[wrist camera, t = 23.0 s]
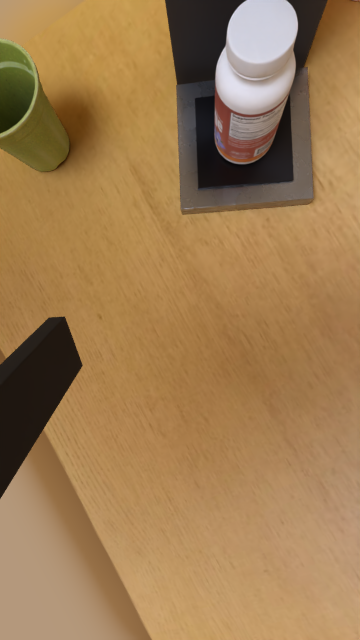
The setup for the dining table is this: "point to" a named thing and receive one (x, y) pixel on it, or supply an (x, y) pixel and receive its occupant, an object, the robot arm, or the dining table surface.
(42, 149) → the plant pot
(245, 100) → the pill bottle
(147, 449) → the dining table surface
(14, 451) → the robot arm
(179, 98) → the drip tray
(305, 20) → the coffee maker
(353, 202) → the dining table surface
